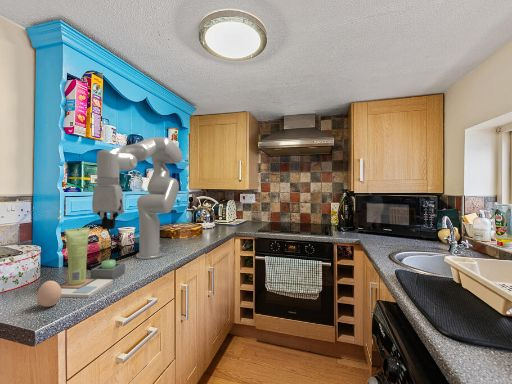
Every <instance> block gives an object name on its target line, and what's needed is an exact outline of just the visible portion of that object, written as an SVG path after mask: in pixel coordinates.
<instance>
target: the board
mask: <svg viewBox="0 0 512 384" xmlns="http://www.w3.org/2000/svg"><path fill="white" fill-rule="evenodd" d="M113 282H114V280H112V279H91V278H87V277H86V281H85V282H84V283H81V284H77V285H70V284H69V281H67V282H65V283H63V284H60V285H59V286H60V287H61V291H62V293H61V297H60V298H76V299H77V298H78V299H79V298H80V299H83V298H84V299H88V298H89V299H90V298H91V297H92V296H95V293H96V294H97V293H98V292H100V291H102V290H104V289H105V288H107V287H108V286H109V285H111V284H113Z"/></svg>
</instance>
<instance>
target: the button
mask: <svg viewBox="0 0 512 384" xmlns="http://www.w3.org/2000/svg"><path fill="white" fill-rule="evenodd" d="M116 263H117V262H116V259H105V260H103V261H101V265H102V269H113V268H114V267H116Z"/></svg>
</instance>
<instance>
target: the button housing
mask: <svg viewBox="0 0 512 384" xmlns="http://www.w3.org/2000/svg"><path fill="white" fill-rule="evenodd" d="M125 273H126V263H125V262H122V263H121V262H116V267H114V268H113V269H102V264H100V265H97V266H96V267H93V268H91V269H90V279H112V280H113V281H115V280H117V279H118V278H119V277H121V276H122V275H124V274H125Z"/></svg>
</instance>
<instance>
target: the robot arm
mask: <svg viewBox="0 0 512 384" xmlns="http://www.w3.org/2000/svg"><path fill="white" fill-rule="evenodd" d="M149 158H150V159H151V161H152V162H151V163H152V165H153V172H152V174H151V177H150V179H149V182H148V185H147V188H146V189H147V192H148V193H145V194H142V195H140V196H139V197H138V199H137V201H136V204H137V210H138V220H139V225H138V226H139V227H138V229H139V230H138V233H139V234H138V236H139V239H138V240H139V241H138V243H139V244H138V245H139V246H138V247H139V248H138V249H139V250H138V251H139V252H137V253H136V254H135V258H137V259H139V260H151V259H152V260H153V259H157V258H160V257H162V256H163V251H162V250H160V248H161V247H162V244H161V243H160V237H161V236H160V235H161V234H160V229H161V228H160V227H161V226H160V218H159V217H158V215H157V214H168V213H170V212H171V211H173V209H174V206H175V202H176V200H177V197H178V194H179V191H180V185H179V184H180V183H179V181H178V180H177V179H176V178H174V177H170V174H171V173H170V170H169V169H168V167H167V166H166V165H165V164H179V163H181V162H182V159H183V152H182V150H181V149H180V147H179V146H177V144H176V143H175V142H174V141H173V140H172V139H170V138H168V137H165V136H154V137H153V136H152V137H147V138H144V139H143V140H141V141H138V142H136V143H131V144H128V145H124V146H119V147H115V148H113V149H110V150H109V149H103V150H102V149H101V150H99V151H97V155H96V173H97V175H96V178H95V179H94V183H96V185H94V188H93V193H92V199H91V200H92V201H91V209H92V213H93V214H96V215H98V217H99V219H100V220H101V228H102V230H106V229H108V230H113V229H115V228H116V219H117V218H118V216H119V215H122V214H124V213H125V209H124V196H123V194H124V193H123V189H122V186H121V185H120V172H121V171H123V172H124V171H132V170H134V169H135V168H136V167H137V166H138V162H142V161H146V160H148V159H149ZM108 212H109V217H108Z"/></svg>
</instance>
